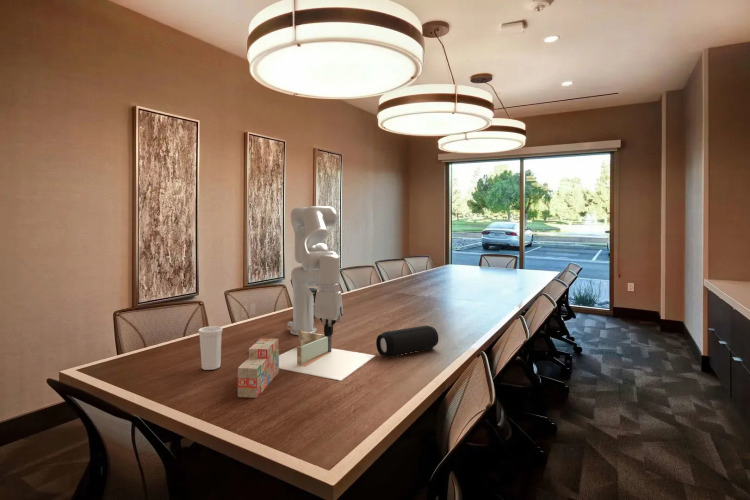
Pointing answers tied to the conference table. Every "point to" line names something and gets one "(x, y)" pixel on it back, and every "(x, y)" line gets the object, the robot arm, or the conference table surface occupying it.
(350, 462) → the conference table surface
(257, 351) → the stack of blocks
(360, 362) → the card
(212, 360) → the cup
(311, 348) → the folding fence panel
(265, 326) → the conference table surface
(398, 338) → the portable speaker
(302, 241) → the robot arm
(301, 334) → the fixed fence section
